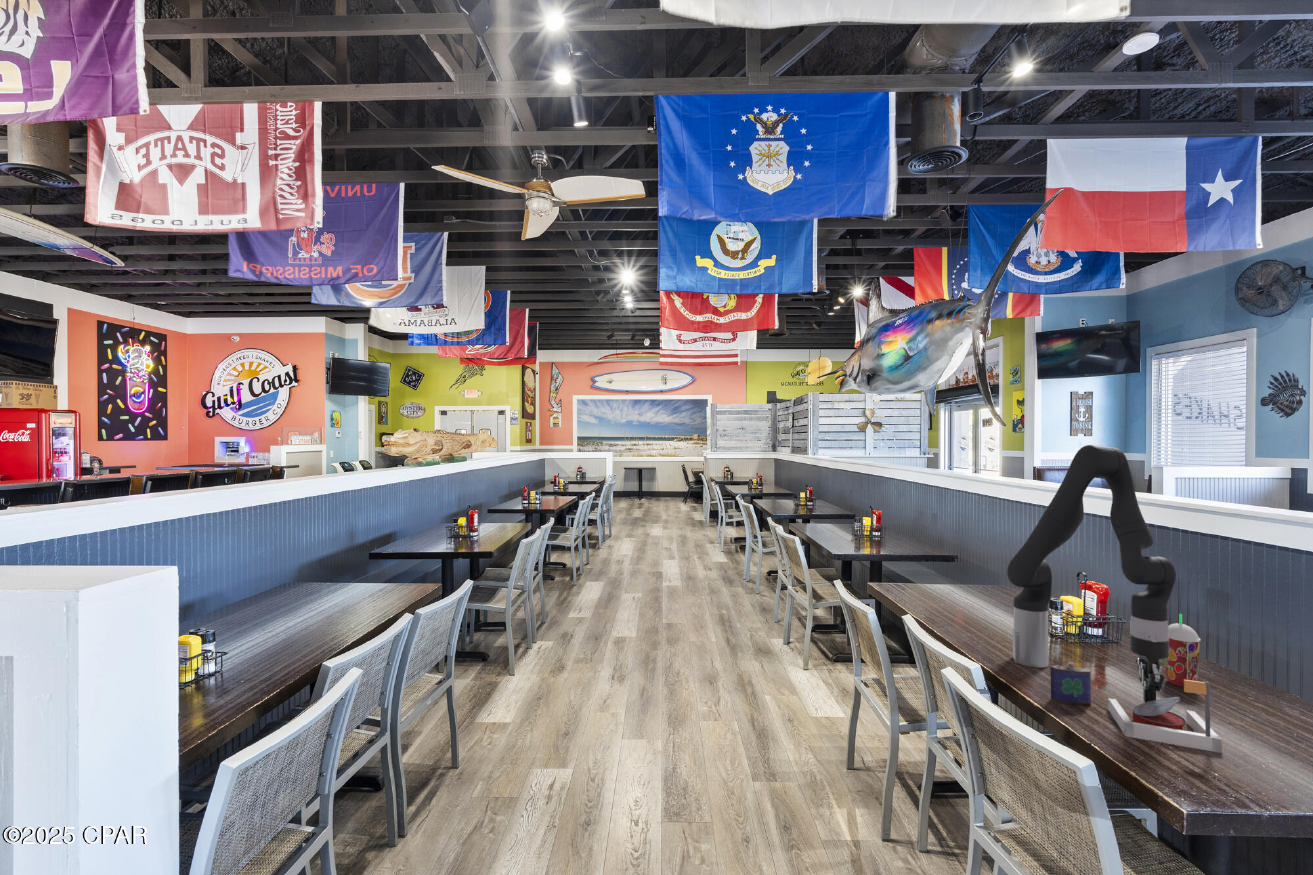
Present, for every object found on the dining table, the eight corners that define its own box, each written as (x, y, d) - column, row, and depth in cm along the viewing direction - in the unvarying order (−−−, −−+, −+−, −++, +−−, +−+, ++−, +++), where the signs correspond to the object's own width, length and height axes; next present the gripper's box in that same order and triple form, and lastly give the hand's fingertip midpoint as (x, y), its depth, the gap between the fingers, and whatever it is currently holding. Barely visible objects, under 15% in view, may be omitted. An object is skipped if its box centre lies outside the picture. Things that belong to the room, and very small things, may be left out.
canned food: (1169, 757, 138) (1156, 723, 136) (1126, 732, 147) (1115, 700, 146) (1205, 731, 139) (1193, 697, 138) (1161, 708, 149) (1149, 676, 147)
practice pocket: (1125, 736, 138) (1124, 671, 138) (1108, 709, 152) (1107, 651, 152) (1222, 752, 130) (1220, 685, 131) (1194, 723, 144) (1193, 662, 145)
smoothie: (1208, 690, 164) (1207, 619, 165) (1174, 688, 166) (1173, 617, 167) (1188, 679, 173) (1187, 611, 173) (1155, 677, 174) (1154, 609, 175)
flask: (1088, 702, 157) (1088, 661, 157) (1093, 706, 154) (1093, 665, 154) (1049, 698, 159) (1048, 658, 159) (1053, 702, 156) (1052, 662, 156)
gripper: (1123, 626, 156) (1123, 691, 156) (1138, 640, 144) (1139, 711, 144) (1159, 630, 153) (1159, 696, 153) (1177, 645, 141) (1178, 717, 141)
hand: (1149, 703), depth 149 cm, fingers closed
